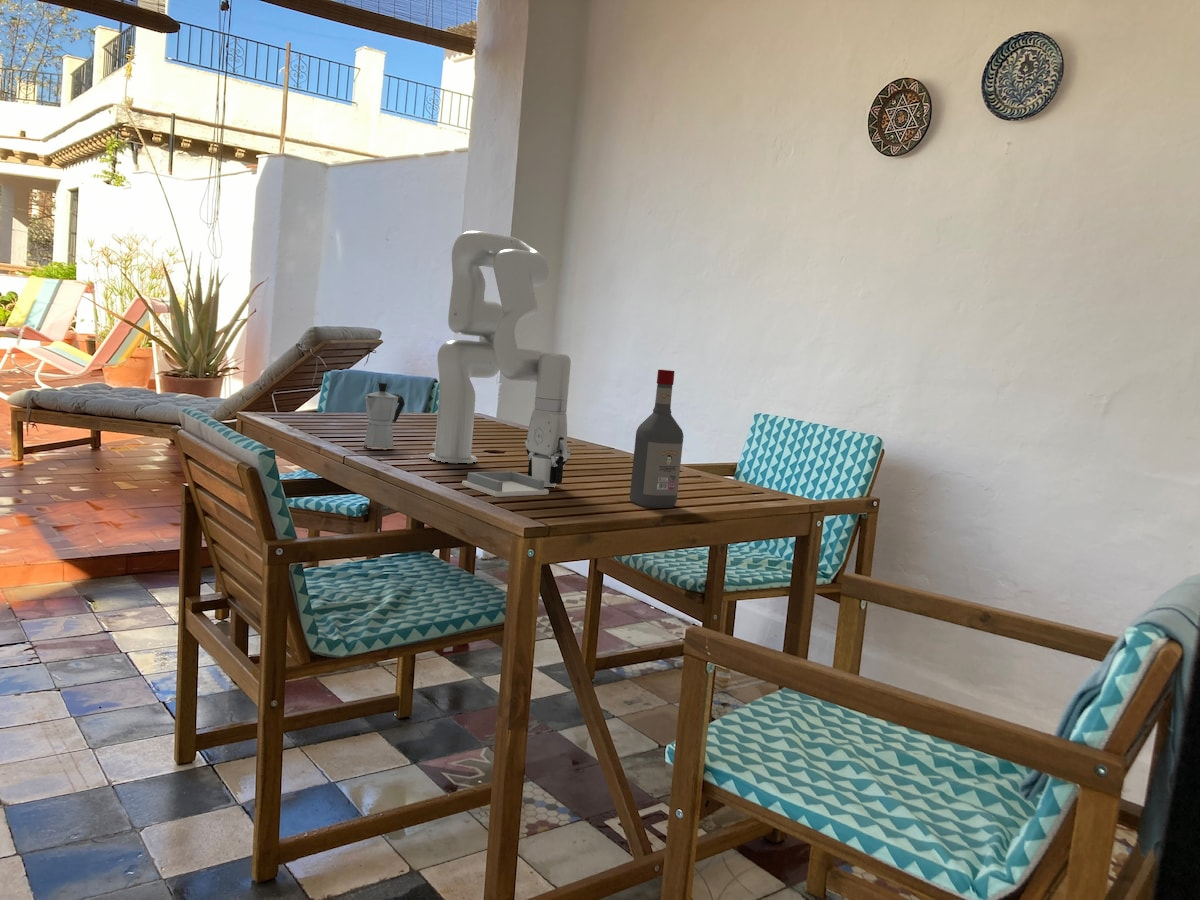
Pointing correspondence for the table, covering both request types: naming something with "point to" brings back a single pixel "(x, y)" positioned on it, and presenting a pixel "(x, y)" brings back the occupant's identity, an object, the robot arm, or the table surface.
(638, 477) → the liquor
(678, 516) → the table surface
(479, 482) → the u rest
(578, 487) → the table surface
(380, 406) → the coffee maker
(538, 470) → the white cup
